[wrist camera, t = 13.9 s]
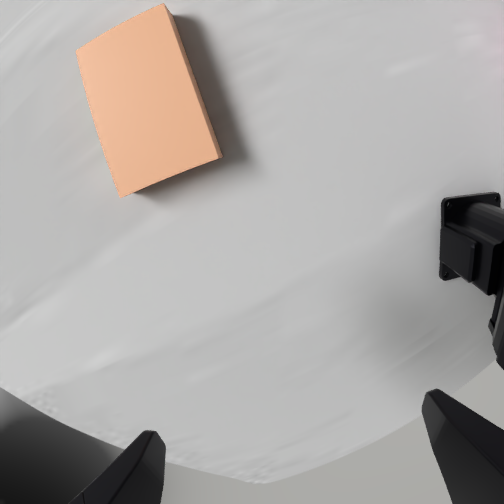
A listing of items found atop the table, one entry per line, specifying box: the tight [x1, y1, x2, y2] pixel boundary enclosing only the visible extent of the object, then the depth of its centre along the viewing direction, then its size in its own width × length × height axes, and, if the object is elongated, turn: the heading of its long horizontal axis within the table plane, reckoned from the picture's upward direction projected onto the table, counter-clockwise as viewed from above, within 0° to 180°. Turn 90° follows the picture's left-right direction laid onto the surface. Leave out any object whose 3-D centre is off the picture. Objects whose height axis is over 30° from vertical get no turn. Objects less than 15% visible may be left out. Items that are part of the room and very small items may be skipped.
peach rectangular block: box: [76, 3, 223, 198], centre depth 16 cm, size 6×2×11 cm
